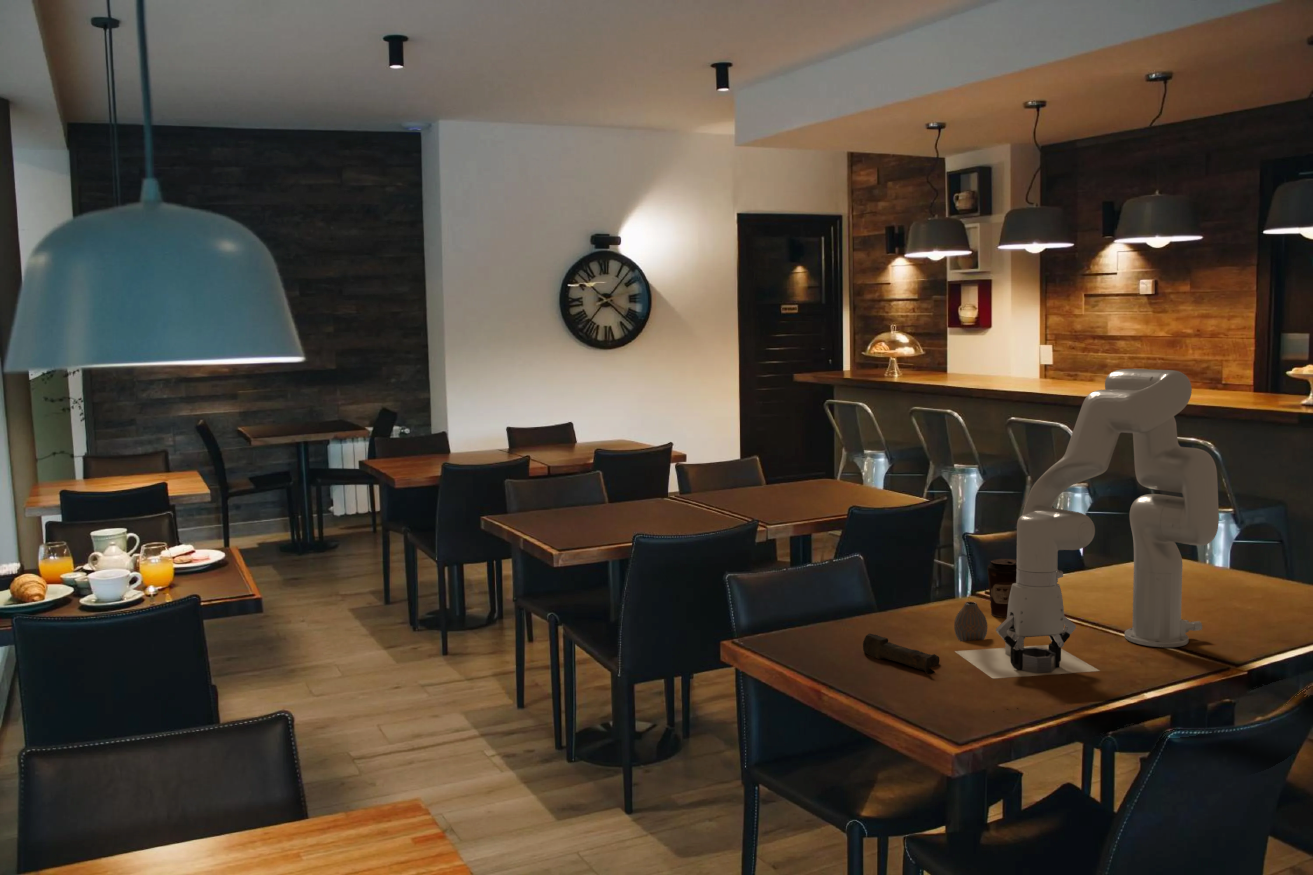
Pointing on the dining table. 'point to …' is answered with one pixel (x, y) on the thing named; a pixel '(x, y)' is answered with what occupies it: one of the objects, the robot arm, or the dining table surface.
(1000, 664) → the board
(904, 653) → the hand tool
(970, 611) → the vase
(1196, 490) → the robot arm
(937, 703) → the dining table surface
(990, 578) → the coffee cup
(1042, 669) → the ring
